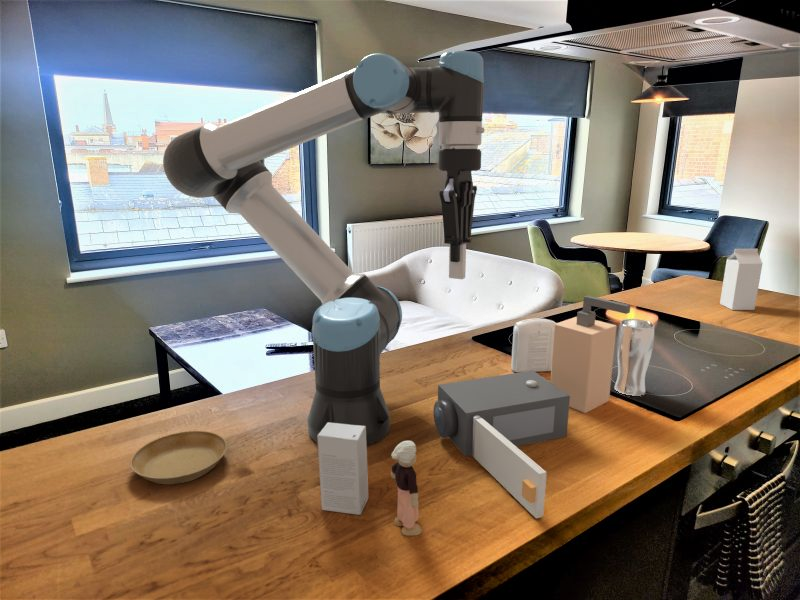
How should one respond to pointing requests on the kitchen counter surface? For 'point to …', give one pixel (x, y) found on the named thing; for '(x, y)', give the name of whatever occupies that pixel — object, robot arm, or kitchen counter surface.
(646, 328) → the beer glass
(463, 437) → the camera housing
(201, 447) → the plant saucer
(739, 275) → the milk carton
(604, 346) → the soap dispenser
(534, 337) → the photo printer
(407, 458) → the grandmother figurine
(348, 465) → the skincare box
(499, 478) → the side door
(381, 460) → the kitchen counter surface
